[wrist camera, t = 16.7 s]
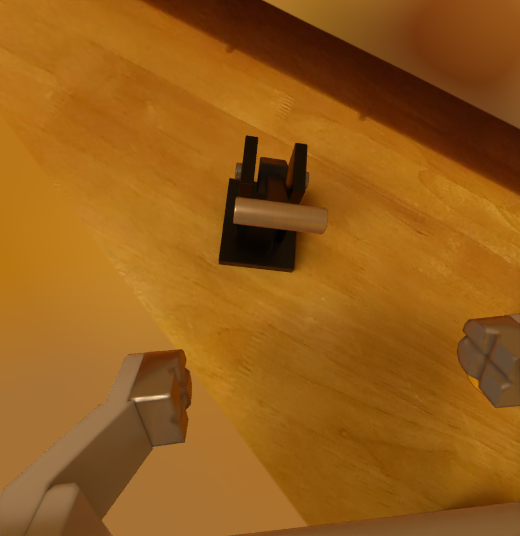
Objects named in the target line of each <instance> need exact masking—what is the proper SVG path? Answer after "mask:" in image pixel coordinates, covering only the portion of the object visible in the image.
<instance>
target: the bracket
mask: <svg viewBox="0 0 520 536" xmlns="http://www.w3.org/2000/svg"><path fill="white" fill-rule="evenodd" d="M257 145H258V137H253V136H246V138H245V147H244V155H243V163H237V164H236V172H235V179H232V178H230V179H229V186H228V194H227V201H226V209H225V216H224V224H223V231H222V239H221V247H220V254H219V264H221V265H230V266H239V267H248V268H257V269H266V270H275V271H284V272H292V271H293V270H294V260H295V242H296V231H291V230H283V229H275V228H266V227H258V226H250V225H242V224H234V223H233V219H234V209H235V201H236V197H242V198H250V199H258V200H266V201H267V199H266V194H261V193H257V182H254V174H255V164H256V155H257ZM306 165H307V144H301V143H295V146H294V149H293V153H292V156H291V159H290V162H289V165H288V166H289V169H288V174H287V180H286V186H285V191H286V194H287V197H288V200H289V204H297V205H299V204H300V202H301V200H302V198H303V195H304V193H305V189H306V188H307V186H308V182H309V173H308V172H306Z"/></svg>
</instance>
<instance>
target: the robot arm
mask: <svg viewBox="0 0 520 536" xmlns="http://www.w3.org/2000/svg"><path fill="white" fill-rule="evenodd" d="M463 332H464V333H465V335H466V336H465V337H464V338H463V339H462V340H461V341H460V342H459V344H458V348H457V356H458V361H459V363H460V365H461V367H462V368H463V370H464V371H465V372H466V373H467V375H469V376H471V377H473V378H475V379H477V380H478V388H479V389H480V390H481V391H482V393H483V394H484V395H485V396H486V397H487V399H488V400H489V401H490V402H491V403H492V405H493V406H494V407H495V408H502V407H514V406H520V313H518V314H510V315H504V316H494V317H486V318H477V319H469V320H468V321H467V322H466V323H465V325H464V328H463ZM185 364H186V356H185V353H184V351H183V350H182V349H181V350H169V351H156V352H147V353H137V354H136V353H135V354H128V355H127V356H126V357H125V359H124V361H123V363H122V366H121V368H120V370H119V373H118V375H117V377H116V380H115V382H114V384H113V387H112V389H111V391H110V394H109V396H108V399H107V401H106V403H105V404H100V405H98V406H97V407H96V408H95V409H94V410H93V411H92V412H90V413H89V414H88V415H87V416H86V417H85V418H83V419H82V420H81V421H80V422H79V423H78V424H77V425H76V426H74V427H73V428H72V429H71V430H70V431H69V432H68V433H66V434H65V435H64V436H63V437H62V438H61V439H60V440H58V441H57V442H56V443H55V444H54V445H53V446H52V447H50V448H49V449H48V450H47V451H46V452H45V453H44V454H43V455H41V456H40V457H39V458H38V459H37V460H36V461H34V462H33V463H32V464H31V465H30V466H29V467H28V468H27V469H25V470H24V471H23V472H22V473H21V474H20V475H18V476H17V477H16V478H15V479H14V480H13V481H12V482H10V483H9V484H8V485H7V486H6V487H5V488H4V489H3V490H2V492H1V494H0V536H112V535H111V533H110V532H109V530H108V529H107V527H106V526H105V524H104V523H103V522H102V519H103V517H104V516H105V515H106V513H107V512H108V510H109V509H110V508H111V506H112V505H113V503H114V502H115V501H116V499H117V498H118V496H119V495H120V494H121V492H122V491H123V490H124V488H125V487H126V485H127V484H128V483H129V481H130V480H131V478H132V477H133V475H134V474H135V473H136V472H137V470H138V469H139V467H140V466H141V465H142V463H143V461H144V460H145V459H146V457H147V456H148V455H149V453H150V452H151V451H152V447H155V446H161V445H169V444H176V443H184V442H185V438H186V432H187V426H188V416H187V412H186V409H187V408H188V407H189V406H190V405H191V397H192V382H191V375H190V371H189V370H188V369H186V368H185ZM232 536H520V502H513V503H504V504H496V505H487V506H479V507H470V508H461V509H453V510H444V511H436V512H427V513H419V514H410V515H401V516H393V517H384V518H376V519H367V520H359V521H350V522H342V523H333V524H325V525H316V526H308V527H300V528H291V529H282V530H273V531H265V532H257V533H248V534H240V535H232Z"/></svg>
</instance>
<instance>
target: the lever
mask: <svg viewBox="0 0 520 536" xmlns="http://www.w3.org/2000/svg"><path fill="white" fill-rule="evenodd" d="M288 169H289V166H288V164H287V162H286V161H285V160H280V159H272V158H265V157H261V158H260V164H259V172H258V180H257V193H261V194H266V199H267V201H266V200H258V199H250V198H242V197H236V201H235V209H234V219H233V223H234V224H242V225H250V226H258V227H266V228H275V229H283V230H291V231H299V232H307V233H315V234H323V233H324V232H325V230H326V227H327V222H328V210H327V209H326V208H320V207H312V206H304V205H297V204H289V200H288V197H287V194H286V191H285V186H286V180H287V174H288Z"/></svg>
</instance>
